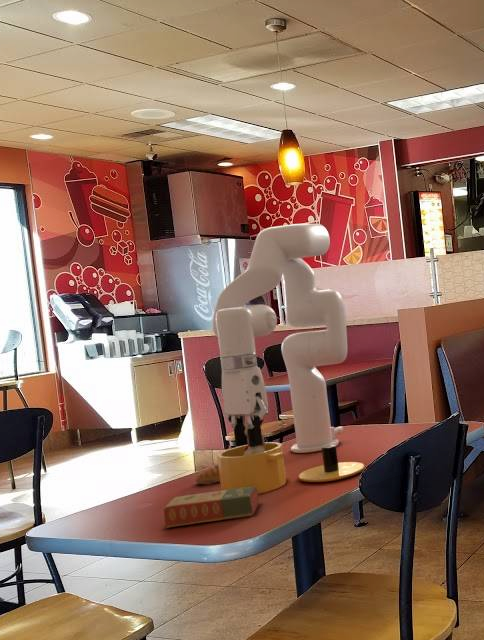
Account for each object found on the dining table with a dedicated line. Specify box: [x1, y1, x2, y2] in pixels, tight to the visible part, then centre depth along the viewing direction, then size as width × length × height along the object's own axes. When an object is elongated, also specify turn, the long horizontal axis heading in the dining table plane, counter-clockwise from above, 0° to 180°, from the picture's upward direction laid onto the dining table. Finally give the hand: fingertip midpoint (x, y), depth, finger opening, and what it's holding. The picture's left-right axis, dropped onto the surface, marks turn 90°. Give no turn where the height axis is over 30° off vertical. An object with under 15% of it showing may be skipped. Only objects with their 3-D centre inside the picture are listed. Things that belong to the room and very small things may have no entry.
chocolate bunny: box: [243, 422, 266, 456], centre depth 165 cm, size 6×8×10 cm
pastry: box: [195, 463, 220, 485], centre depth 177 cm, size 9×7×4 cm
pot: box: [216, 441, 287, 495], centre depth 165 cm, size 14×19×8 cm
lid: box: [298, 445, 365, 483], centre depth 169 cm, size 15×15×7 cm
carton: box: [163, 486, 260, 529], centre depth 145 cm, size 8×16×4 cm, turn 98°
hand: (249, 444), depth 165 cm, fingers closed on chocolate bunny, 3 cm apart
